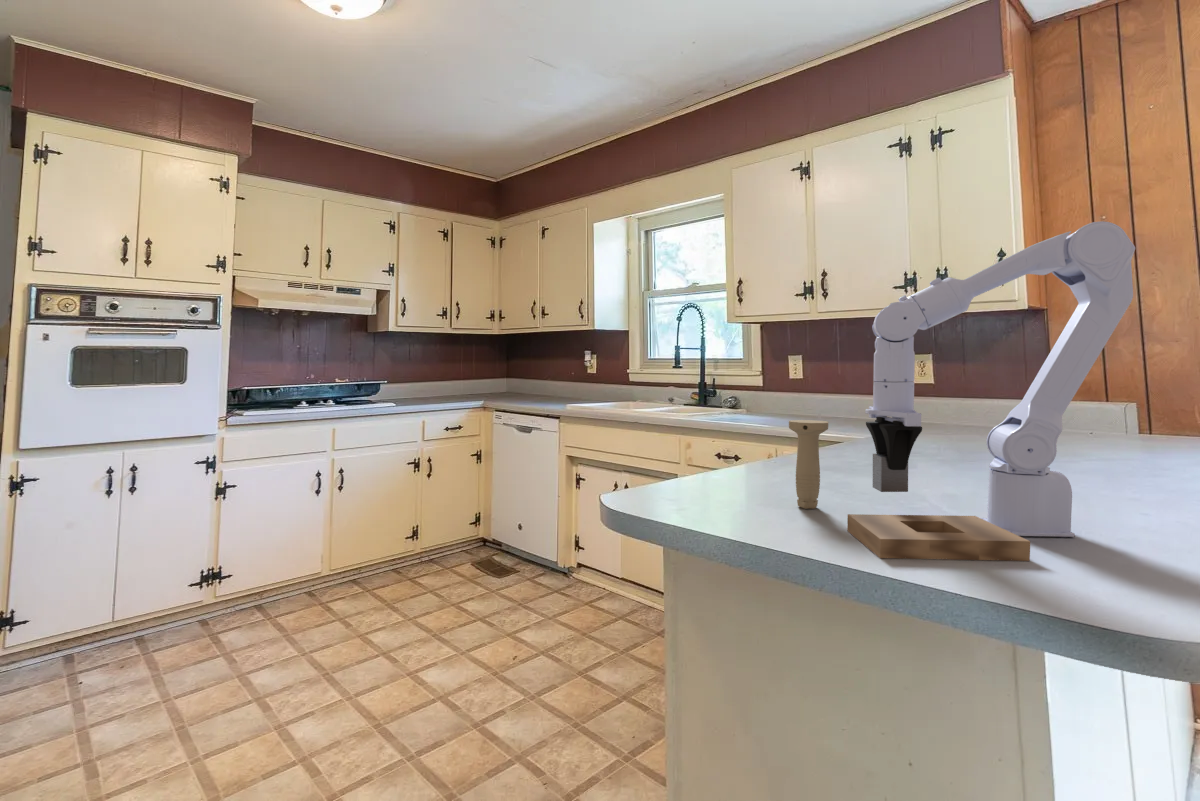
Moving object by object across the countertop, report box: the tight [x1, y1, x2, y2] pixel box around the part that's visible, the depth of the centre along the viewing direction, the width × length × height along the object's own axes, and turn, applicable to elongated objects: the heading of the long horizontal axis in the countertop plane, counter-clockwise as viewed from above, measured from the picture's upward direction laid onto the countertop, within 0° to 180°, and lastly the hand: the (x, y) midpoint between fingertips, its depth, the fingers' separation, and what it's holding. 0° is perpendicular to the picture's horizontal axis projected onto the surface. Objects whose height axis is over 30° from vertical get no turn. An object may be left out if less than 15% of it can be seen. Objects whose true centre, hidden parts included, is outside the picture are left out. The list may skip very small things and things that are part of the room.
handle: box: [788, 419, 829, 510], centre depth 98 cm, size 5×6×15 cm
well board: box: [846, 513, 1031, 562], centre depth 77 cm, size 18×12×2 cm, turn 85°
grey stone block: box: [872, 453, 909, 493], centre depth 89 cm, size 4×4×6 cm
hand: (891, 467), depth 89 cm, fingers closed on grey stone block, 3 cm apart
